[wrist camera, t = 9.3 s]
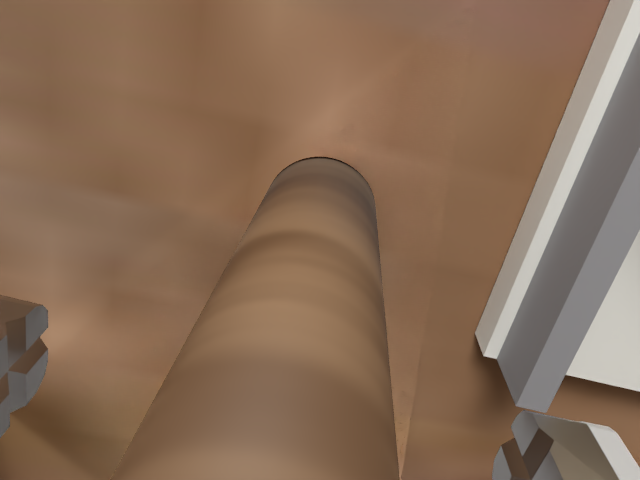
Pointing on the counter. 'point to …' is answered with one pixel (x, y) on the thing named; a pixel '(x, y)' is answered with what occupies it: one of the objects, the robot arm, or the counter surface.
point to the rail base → (578, 238)
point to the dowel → (284, 350)
